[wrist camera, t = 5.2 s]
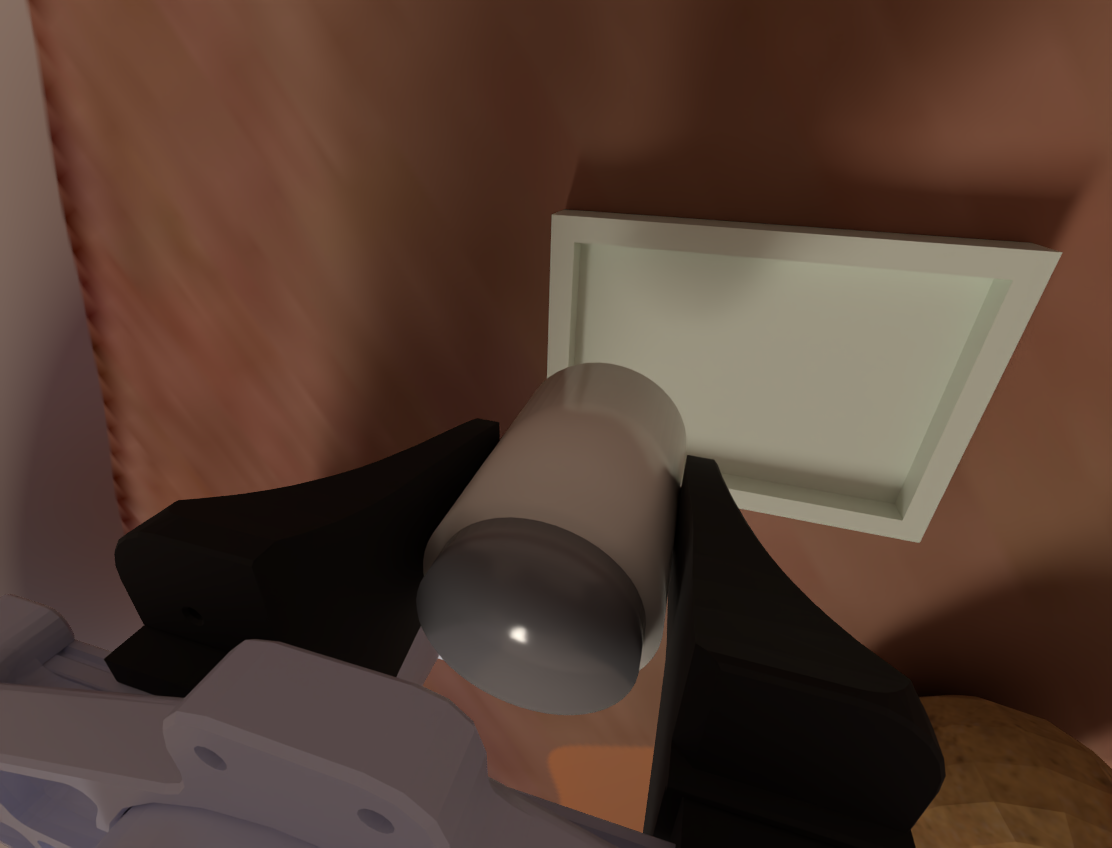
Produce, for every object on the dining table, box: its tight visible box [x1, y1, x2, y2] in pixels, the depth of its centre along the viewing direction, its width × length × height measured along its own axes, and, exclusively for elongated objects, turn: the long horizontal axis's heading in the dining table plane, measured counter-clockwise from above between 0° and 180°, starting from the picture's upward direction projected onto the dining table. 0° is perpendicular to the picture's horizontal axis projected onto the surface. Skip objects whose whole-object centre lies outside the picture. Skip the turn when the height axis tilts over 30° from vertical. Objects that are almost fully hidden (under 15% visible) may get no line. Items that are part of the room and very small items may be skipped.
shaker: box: [416, 362, 687, 715], centre depth 12 cm, size 5×5×7 cm
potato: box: [911, 695, 1112, 848], centre depth 21 cm, size 10×14×8 cm
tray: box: [547, 209, 1062, 543], centre depth 18 cm, size 14×10×2 cm
